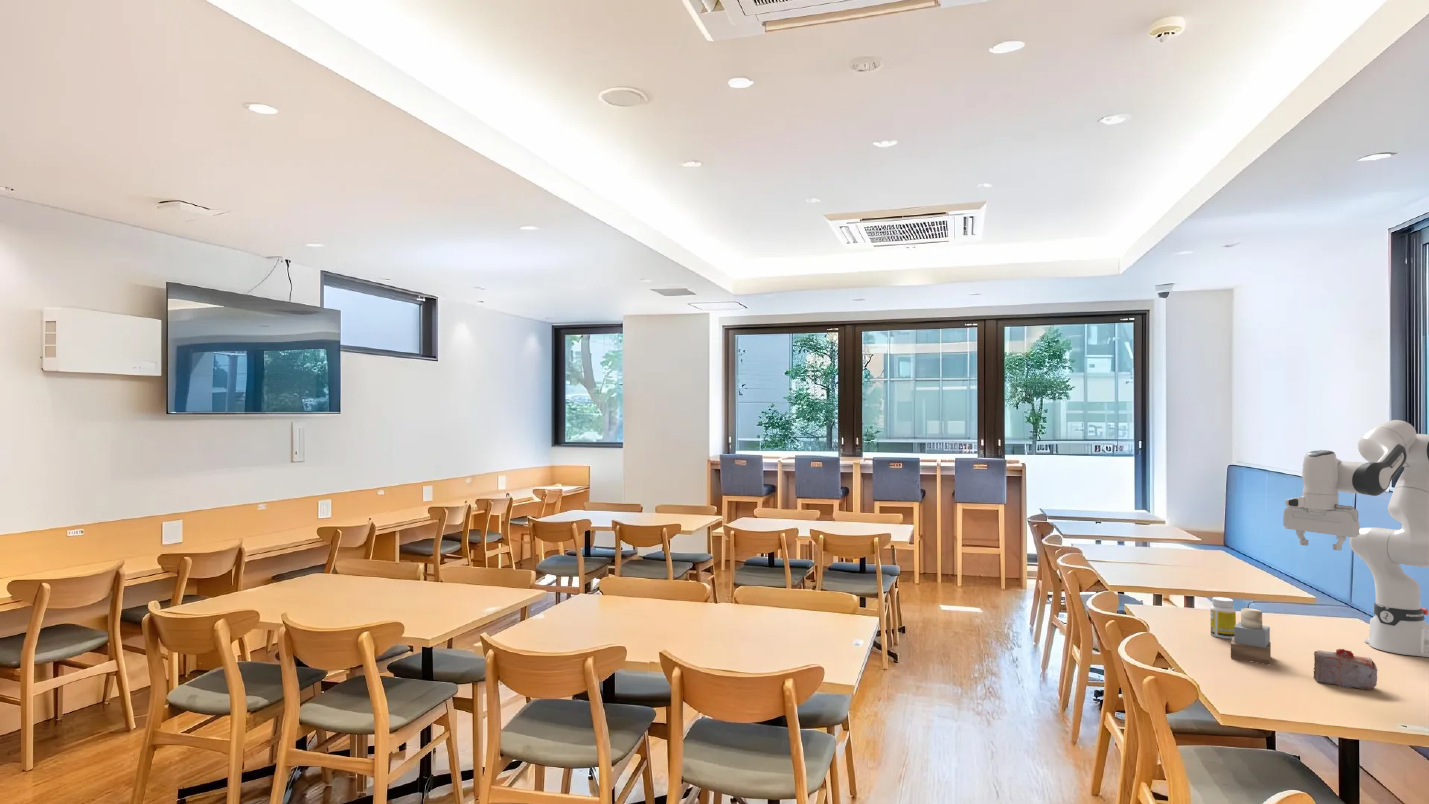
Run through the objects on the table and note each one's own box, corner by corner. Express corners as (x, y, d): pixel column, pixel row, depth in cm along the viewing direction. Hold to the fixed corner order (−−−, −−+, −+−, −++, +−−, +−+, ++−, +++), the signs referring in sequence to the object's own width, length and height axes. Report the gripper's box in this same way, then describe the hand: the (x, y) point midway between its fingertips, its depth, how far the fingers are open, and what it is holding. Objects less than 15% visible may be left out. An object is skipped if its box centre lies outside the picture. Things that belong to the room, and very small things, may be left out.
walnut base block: (1232, 651, 250) (1232, 636, 251) (1270, 657, 244) (1270, 641, 245) (1230, 659, 242) (1230, 643, 242) (1270, 665, 236) (1270, 649, 237)
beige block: (1248, 623, 247) (1248, 607, 247) (1266, 627, 242) (1266, 611, 242) (1236, 625, 245) (1236, 609, 245) (1254, 629, 240) (1254, 613, 240)
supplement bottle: (1240, 638, 265) (1240, 600, 265) (1226, 640, 263) (1226, 602, 263) (1219, 632, 272) (1219, 595, 272) (1205, 634, 269) (1205, 597, 270)
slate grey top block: (1239, 637, 249) (1239, 622, 249) (1269, 642, 244) (1269, 626, 244) (1234, 642, 243) (1234, 626, 243) (1265, 648, 238) (1265, 631, 238)
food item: (1373, 685, 219) (1372, 650, 219) (1378, 693, 212) (1378, 657, 213) (1312, 676, 226) (1312, 642, 226) (1316, 684, 220) (1315, 649, 220)
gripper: (1364, 506, 232) (1365, 552, 232) (1293, 499, 251) (1293, 542, 251) (1351, 507, 230) (1351, 553, 230) (1279, 499, 249) (1279, 543, 249)
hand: (1320, 547), depth 241 cm, fingers open, 8 cm apart
